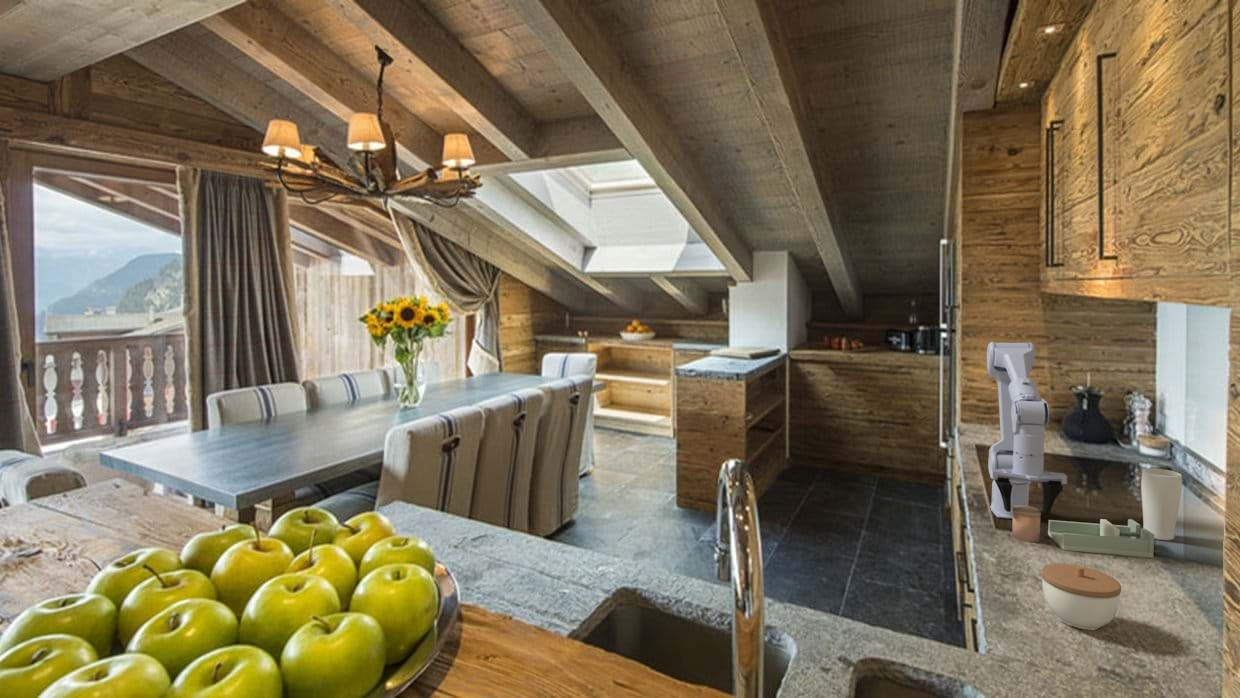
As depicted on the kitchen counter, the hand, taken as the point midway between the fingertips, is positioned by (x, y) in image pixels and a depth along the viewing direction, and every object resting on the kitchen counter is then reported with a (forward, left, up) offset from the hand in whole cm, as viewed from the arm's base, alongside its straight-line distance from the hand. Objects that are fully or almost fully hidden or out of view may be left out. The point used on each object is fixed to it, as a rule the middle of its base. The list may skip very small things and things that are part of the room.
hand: (1026, 511), depth 136 cm
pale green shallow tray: (+1, +14, -6) cm, 15 cm away
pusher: (+1, +19, -5) cm, 20 cm away
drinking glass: (-8, +29, -6) cm, 30 cm away
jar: (0, 0, -6) cm, 6 cm away
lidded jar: (+38, -3, -6) cm, 39 cm away
